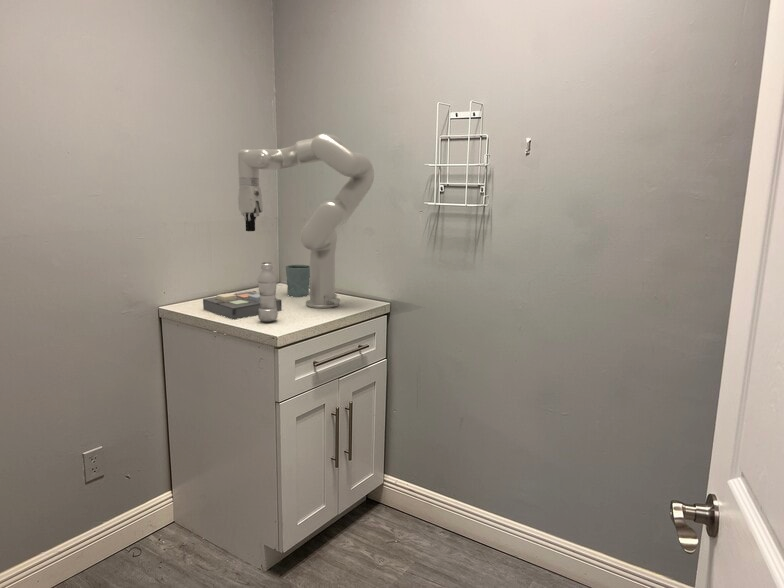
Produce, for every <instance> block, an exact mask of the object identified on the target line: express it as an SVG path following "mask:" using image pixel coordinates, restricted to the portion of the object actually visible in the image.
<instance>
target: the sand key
mask: <svg viewBox="0 0 784 588" xmlns="http://www.w3.org/2000/svg"><path fill="white" fill-rule="evenodd" d="M233 294H234V293H223V294H222V293H221V294H217V295H216V297H217V300H220V301H223V302H225V301H231V300H236V295H233Z"/></svg>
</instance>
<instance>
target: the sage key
mask: <svg viewBox="0 0 784 588" xmlns="http://www.w3.org/2000/svg"><path fill="white" fill-rule="evenodd" d="M229 303H230V304H233V305H242V304H247V303H249V302H247V301H243V300H237V301H231V302H229Z"/></svg>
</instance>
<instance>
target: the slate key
mask: <svg viewBox="0 0 784 588" xmlns="http://www.w3.org/2000/svg"><path fill="white" fill-rule="evenodd" d="M248 300H250V301H254V302H259V301H260V294H259V293H257V294H254V295H248Z"/></svg>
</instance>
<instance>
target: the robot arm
mask: <svg viewBox="0 0 784 588" xmlns="http://www.w3.org/2000/svg"><path fill="white" fill-rule="evenodd" d="M237 159H238V160H237V165H238V167H237V169H238V195H237V196H238V197H237V198H238V199H237V200H238V201H237V202H238V203H237V204H238V210H239V212H240V215H242V216H243V219H244V221H245V232H255V231H256V221H257V217H260V213H262V212H263V211H264V209H263V197H262V196H263V195H262V190H261V187H260V170H267V171H268V170H269V171H270V170H273V171H276V170H282V169H287V168H288V169H289V168H292V167H297V166H303V165H307V164H312V163H316V162H323V163H325V164H326V165H328V166H329V167H330V168H331V169H333V170H335V171H336V172H337V173H339V174H340V175H342V176H344V177H349V179H348V180H347V181H346V183H345V184H343V186H342V187H341V189H340V191H339V192H338V193H337V194H336V195H335V197H334V198H333V199H328V200H325V201H323V202H322V203H321V204H320V205H319V206H318V207H317V208H316V209H315V211H314V212H313V214H312V215H311V216H310V218H309V219H308V220H307V222H306V224H304V227H303V228H302V229H301V232H300V235H299V236H300V239H299V240H300V242H301V244H302V245H303V247H304V248H305V249H307V250H308V251H309V250H310V251H309V266H310V278H309V280H310V281H309V299H308V300H306V302H305V305H306V306H307V307H310V308H315V309H316V308H317V309H328V308H329V309H331V308H336V307H338V306H339V305H340V302H341V299H340V298H339V297H337V293H336V248H337V240H338V239H337V238H338V235H337V230H336V228H337V227H339V226H341V225H345V224H346V223H347V222H348V221H349V220H350V218H351V217H352V215H353V213H354V212H355V211H356V209H358V207H359V206H360V204H361V202H362V201H363V200H364V198H365V197H366V195H367V194H368V193H369V191H370V189H371V188H372V186H373V183H374V178H375V171H374V167H373V164H372V161H371V160H370V159H369V157H368V156H367V155H366V154H363V153H360V152H355V151H351V150H350V149H348V148H347V147H345V146H344V145H343V143H342V141H341V139H340V138H339V137H338V136H336V135H335V134H329V133H319V134H317V135H315V136H314V137H312V138H308V139H306V138H305V139H302V140H297V141H296V143H295V144H294V145H291V146H287V147H282V148H277V149H272V148H271V149H269V148H260V149H259V148H258V149H248V148H247V149H246V148H245V149H239V150H238V151H237Z"/></svg>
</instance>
